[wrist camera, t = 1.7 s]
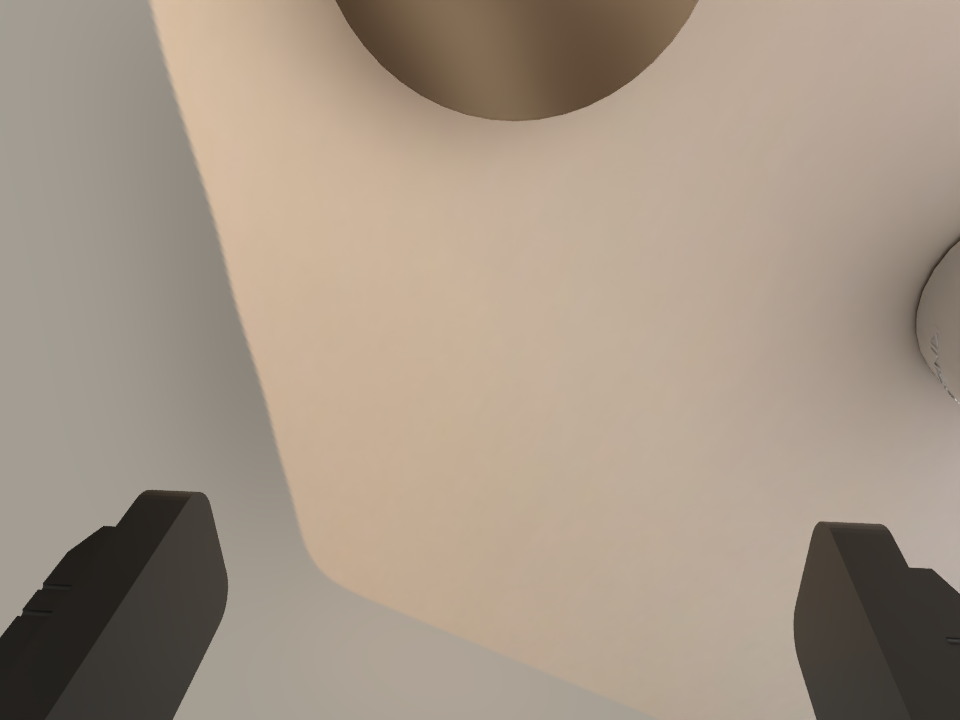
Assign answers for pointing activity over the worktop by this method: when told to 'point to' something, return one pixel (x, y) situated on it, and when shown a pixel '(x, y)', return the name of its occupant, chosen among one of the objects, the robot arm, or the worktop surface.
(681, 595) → the worktop surface
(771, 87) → the worktop surface
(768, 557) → the worktop surface
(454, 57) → the walnut plinth
